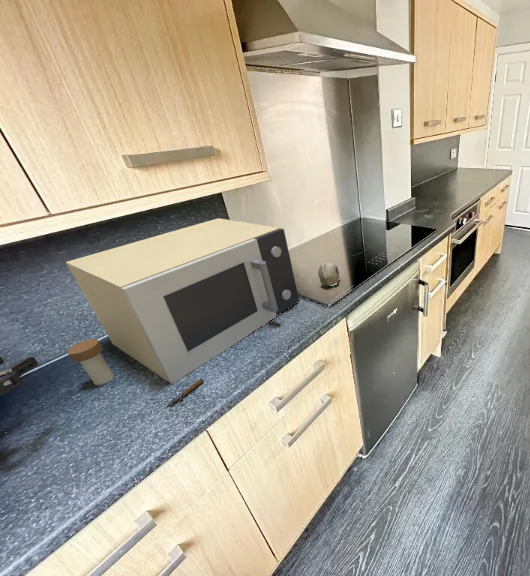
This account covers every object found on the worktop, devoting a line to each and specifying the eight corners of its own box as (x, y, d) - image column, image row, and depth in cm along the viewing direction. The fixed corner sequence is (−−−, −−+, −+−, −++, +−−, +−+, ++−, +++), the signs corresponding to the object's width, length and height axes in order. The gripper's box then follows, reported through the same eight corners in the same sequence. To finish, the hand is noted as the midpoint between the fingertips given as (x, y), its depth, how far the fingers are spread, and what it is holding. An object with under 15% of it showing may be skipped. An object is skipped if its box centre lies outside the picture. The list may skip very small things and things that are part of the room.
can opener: (201, 380, 79) (200, 377, 78) (207, 384, 78) (205, 380, 77) (164, 406, 72) (162, 403, 71) (169, 410, 71) (167, 406, 70)
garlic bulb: (328, 295, 120) (319, 276, 113) (317, 284, 125) (308, 266, 118) (348, 281, 123) (340, 262, 116) (336, 271, 128) (328, 253, 121)
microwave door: (287, 321, 101) (268, 241, 88) (182, 391, 76) (135, 294, 63) (273, 316, 104) (253, 238, 91) (168, 381, 79) (120, 287, 67)
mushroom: (84, 390, 79) (61, 355, 74) (99, 374, 84) (77, 340, 79) (110, 385, 79) (88, 351, 74) (122, 370, 84) (103, 337, 79)
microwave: (301, 303, 110) (285, 228, 98) (173, 385, 78) (125, 289, 66) (238, 283, 128) (218, 218, 115) (112, 344, 96) (65, 262, 83)
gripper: (-82, 414, 48) (35, 345, 62) (-153, 407, 50) (-24, 343, 64) (-47, 446, 51) (56, 374, 65) (-115, 439, 53) (0, 371, 67)
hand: (17, 359), depth 64 cm, fingers open, 8 cm apart
